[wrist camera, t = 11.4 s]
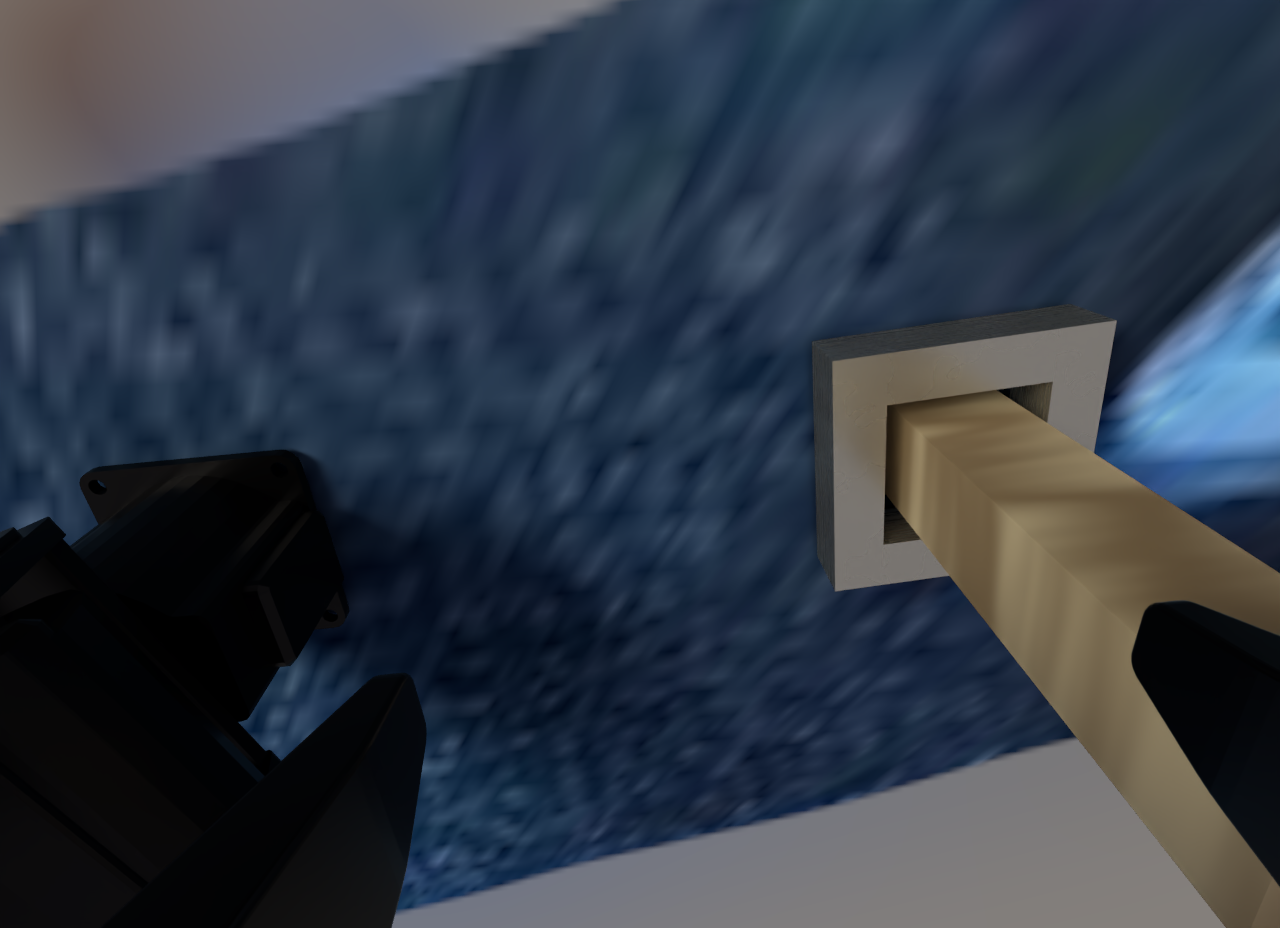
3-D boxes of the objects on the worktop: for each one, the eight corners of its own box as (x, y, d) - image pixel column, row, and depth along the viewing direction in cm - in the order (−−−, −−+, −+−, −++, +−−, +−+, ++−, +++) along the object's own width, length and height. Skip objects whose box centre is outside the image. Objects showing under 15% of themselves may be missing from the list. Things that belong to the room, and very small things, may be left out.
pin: (883, 490, 22) (1242, 947, 10) (885, 400, 21) (1307, 796, 8) (980, 477, 22) (1467, 919, 10) (989, 385, 21) (1572, 761, 8)
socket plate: (817, 556, 23) (835, 591, 22) (811, 341, 20) (832, 361, 18) (1039, 525, 23) (1075, 558, 21) (1070, 304, 20) (1116, 320, 18)
